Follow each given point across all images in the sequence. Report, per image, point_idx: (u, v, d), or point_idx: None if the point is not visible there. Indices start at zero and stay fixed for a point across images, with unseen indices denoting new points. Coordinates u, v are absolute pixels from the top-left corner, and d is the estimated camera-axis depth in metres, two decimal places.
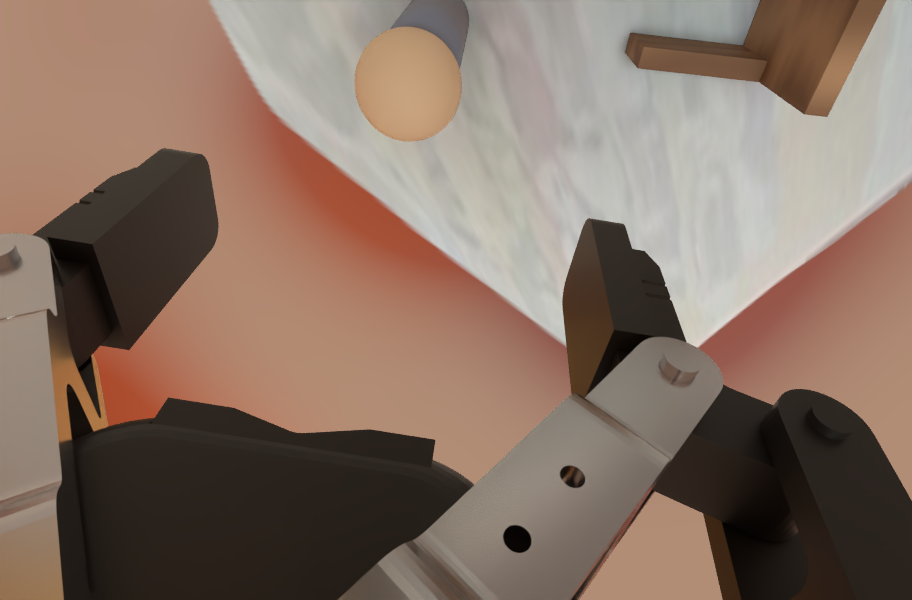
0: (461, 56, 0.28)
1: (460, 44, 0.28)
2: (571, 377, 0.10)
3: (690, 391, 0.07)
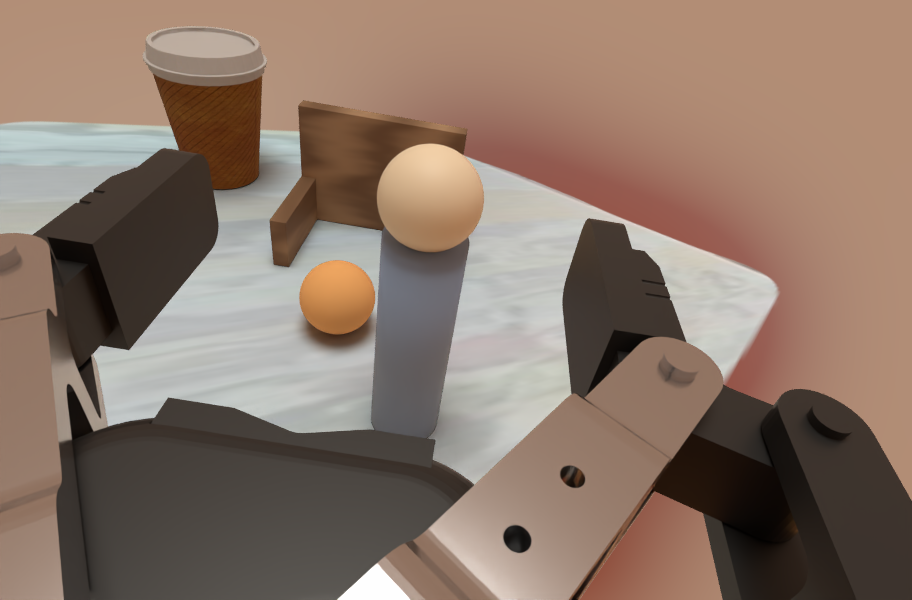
0: None
1: None
2: (571, 376, 0.10)
3: (690, 391, 0.07)
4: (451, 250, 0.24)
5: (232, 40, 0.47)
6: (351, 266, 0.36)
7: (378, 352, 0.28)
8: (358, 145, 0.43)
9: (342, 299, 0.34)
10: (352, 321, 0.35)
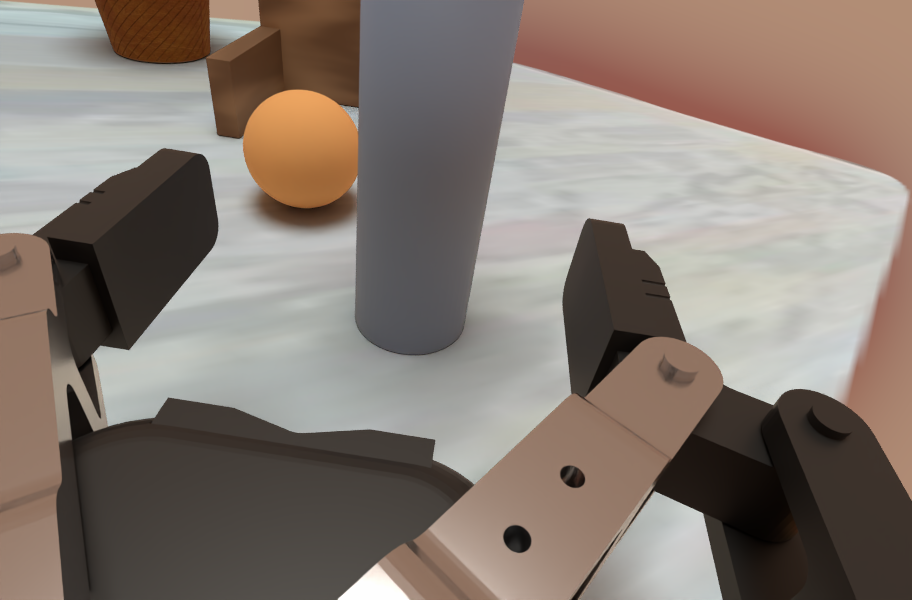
0: None
1: None
2: (571, 376, 0.10)
3: (690, 391, 0.07)
4: None
5: None
6: (323, 95, 0.23)
7: (363, 162, 0.15)
8: None
9: (308, 136, 0.21)
10: (324, 177, 0.22)
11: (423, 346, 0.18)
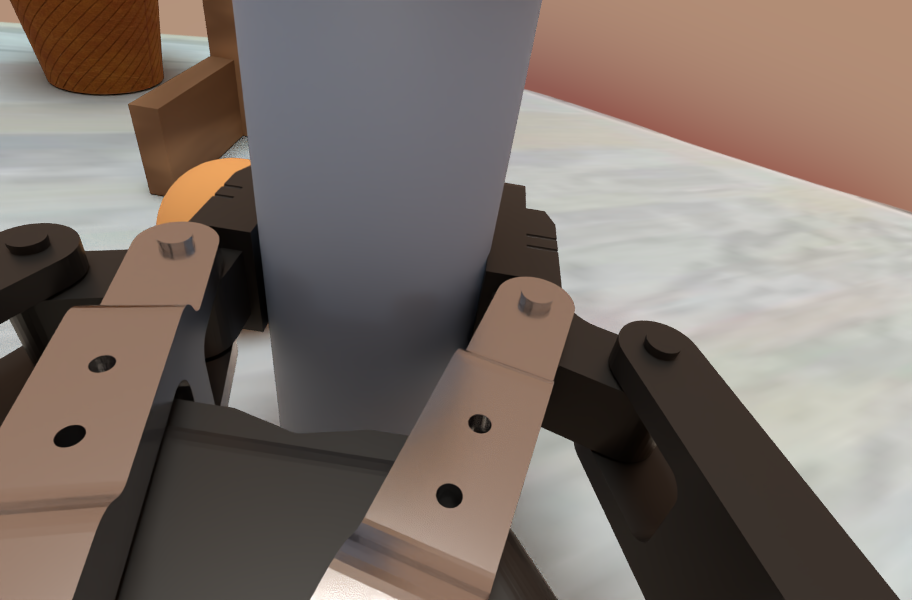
0: None
1: None
2: None
3: (540, 319, 0.08)
4: None
5: None
6: None
7: (271, 328, 0.10)
8: None
9: None
10: None
11: None
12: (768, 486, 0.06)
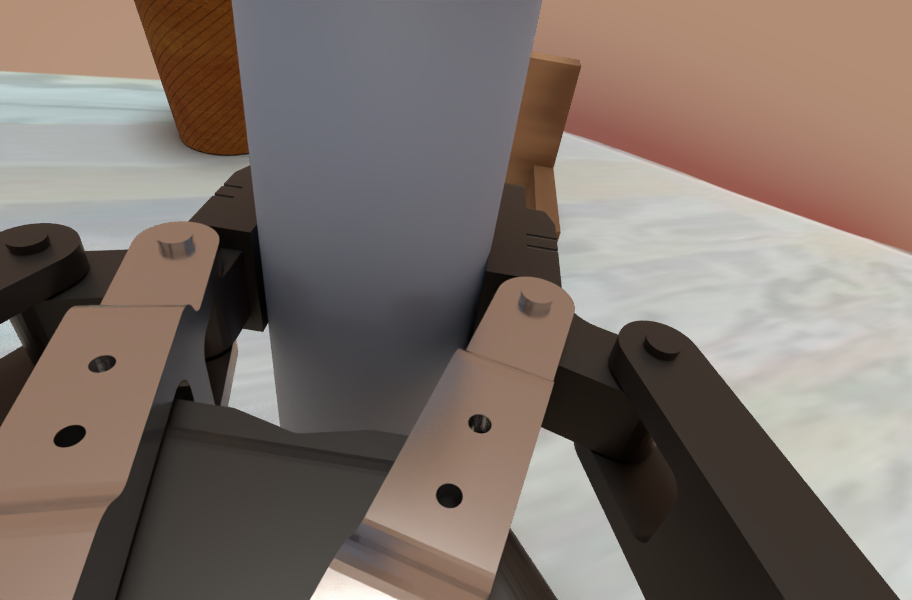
0: None
1: None
2: None
3: (540, 319, 0.08)
4: None
5: None
6: None
7: (271, 328, 0.10)
8: None
9: None
10: None
11: None
12: (769, 487, 0.06)
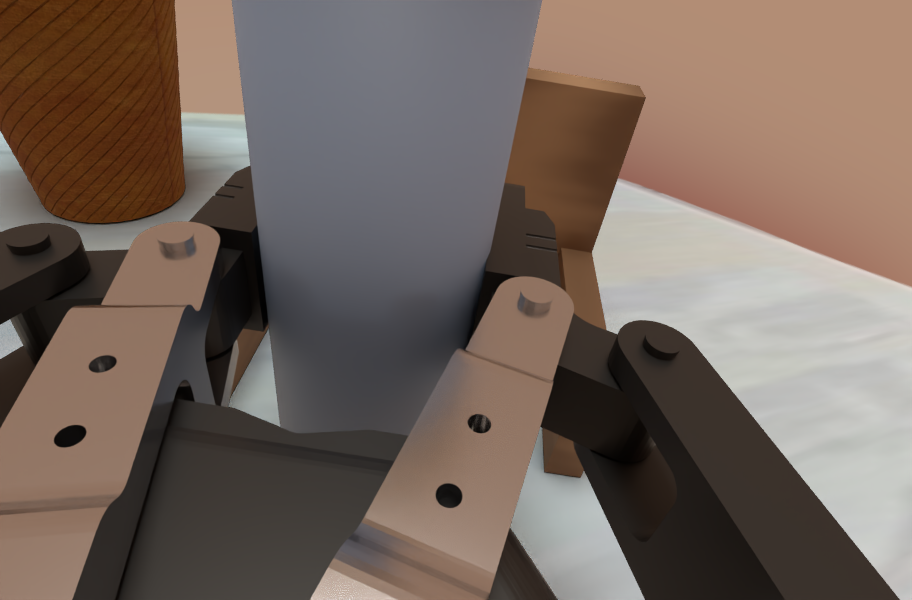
0: None
1: None
2: None
3: (539, 319, 0.08)
4: None
5: None
6: None
7: (271, 329, 0.10)
8: None
9: None
10: None
11: None
12: (768, 486, 0.06)
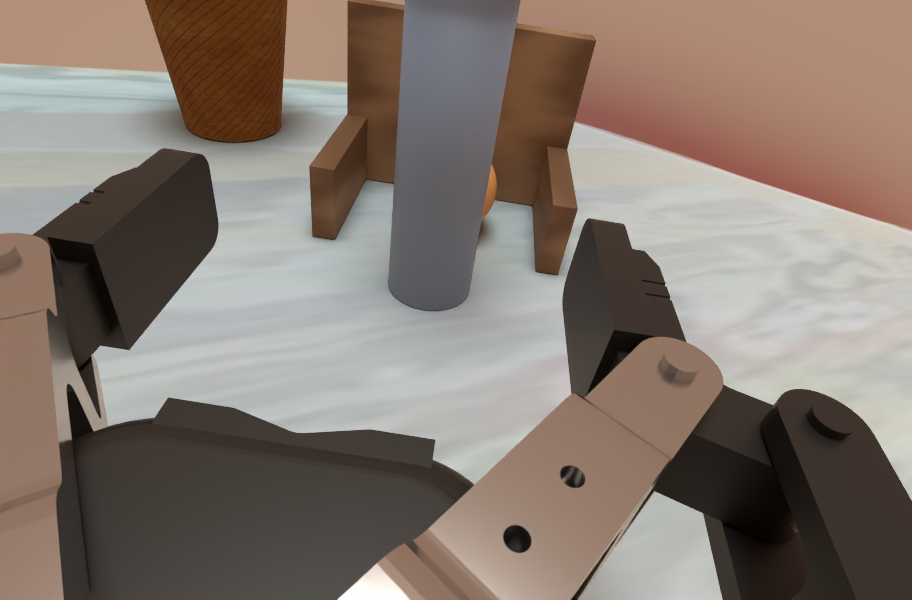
0: None
1: None
2: (571, 377, 0.10)
3: (690, 391, 0.07)
4: None
5: None
6: None
7: (399, 171, 0.22)
8: None
9: None
10: None
11: (439, 304, 0.25)
12: None
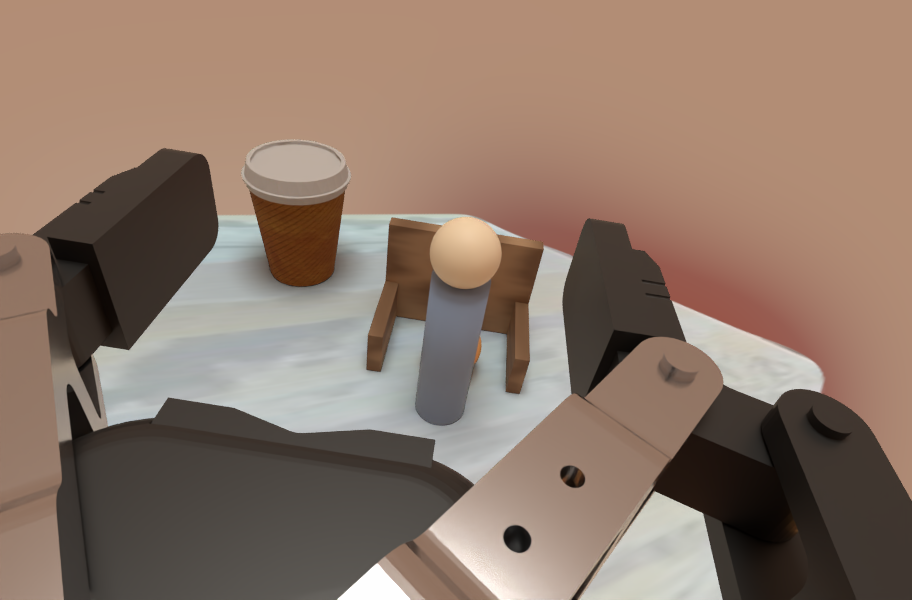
0: None
1: None
2: (571, 376, 0.10)
3: (690, 391, 0.07)
4: (479, 287, 0.35)
5: (317, 153, 0.50)
6: None
7: (425, 357, 0.39)
8: None
9: None
10: None
11: (446, 422, 0.42)
12: None
